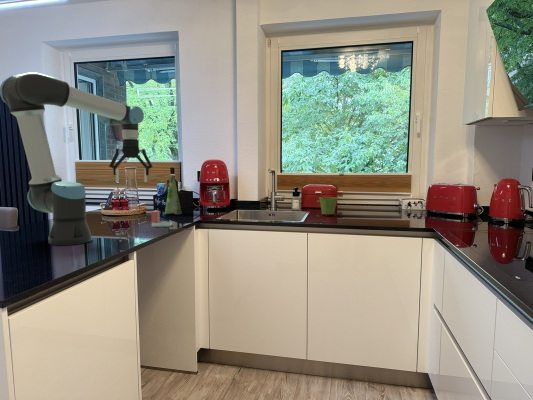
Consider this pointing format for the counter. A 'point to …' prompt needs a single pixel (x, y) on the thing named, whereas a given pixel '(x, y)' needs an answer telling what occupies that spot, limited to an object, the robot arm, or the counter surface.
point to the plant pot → (328, 204)
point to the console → (162, 224)
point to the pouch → (172, 198)
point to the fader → (155, 216)
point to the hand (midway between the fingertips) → (131, 182)
